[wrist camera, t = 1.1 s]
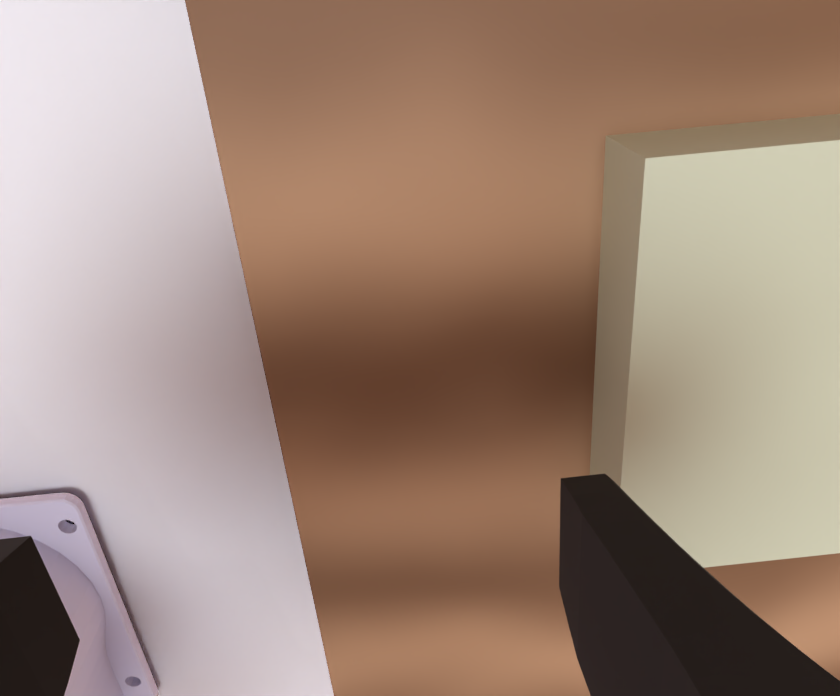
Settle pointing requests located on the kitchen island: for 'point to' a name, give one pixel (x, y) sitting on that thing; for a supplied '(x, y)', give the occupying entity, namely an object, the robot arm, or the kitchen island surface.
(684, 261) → the beige rectangular box
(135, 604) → the kitchen island surface
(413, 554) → the wooden block
